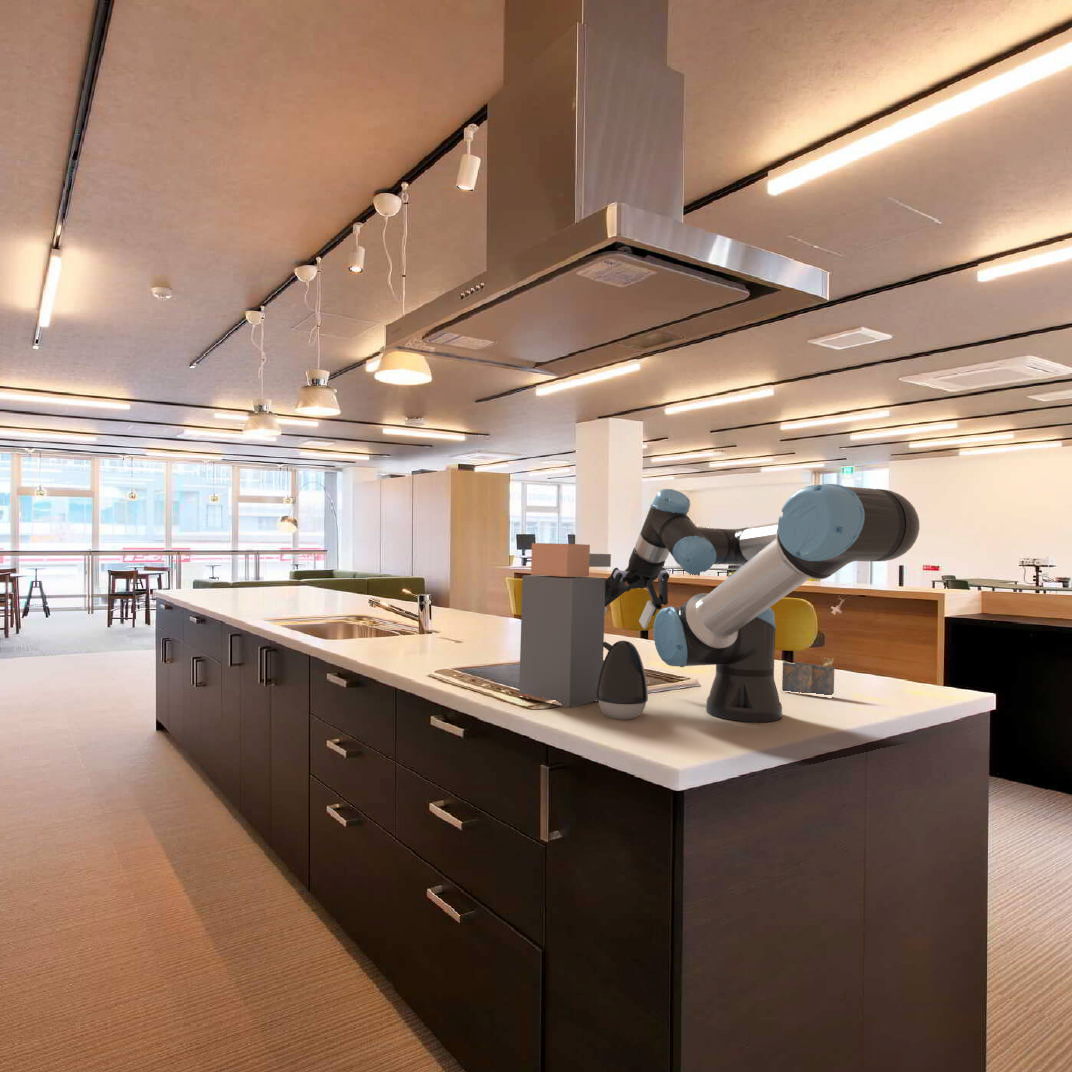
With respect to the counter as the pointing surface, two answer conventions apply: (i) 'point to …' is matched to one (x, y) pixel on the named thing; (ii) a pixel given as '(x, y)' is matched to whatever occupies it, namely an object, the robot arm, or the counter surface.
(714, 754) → the counter surface
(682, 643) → the robot arm
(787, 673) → the ruin model on sheet
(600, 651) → the grey tall block
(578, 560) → the orange and grey block
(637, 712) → the pump dispenser
